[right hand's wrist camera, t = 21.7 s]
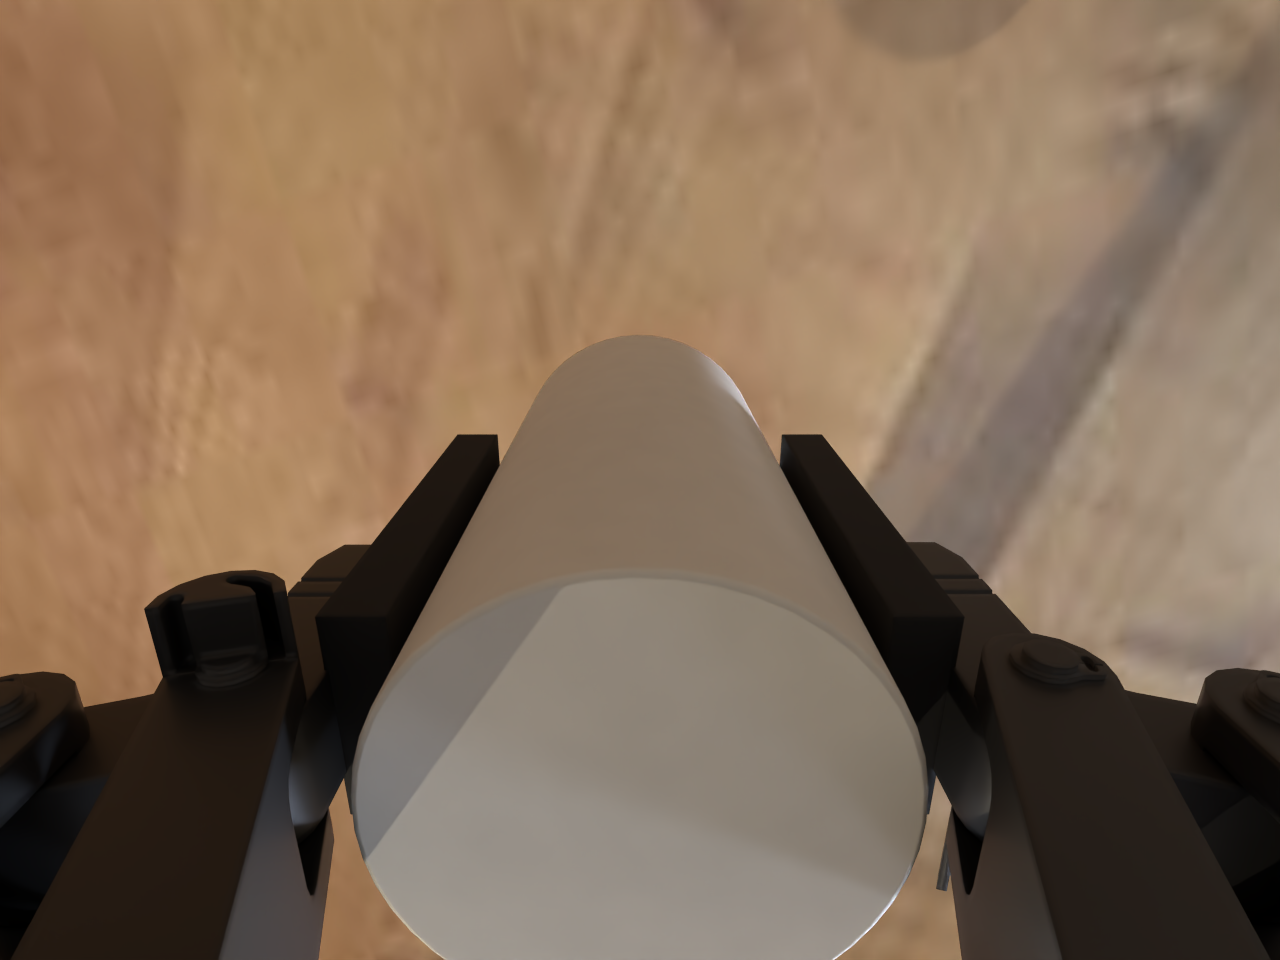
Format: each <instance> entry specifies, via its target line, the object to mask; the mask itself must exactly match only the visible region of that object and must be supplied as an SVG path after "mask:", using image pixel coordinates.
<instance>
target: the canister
mask: <svg viewBox="0 0 1280 960" xmlns="http://www.w3.org/2000/svg"><path fill="white" fill-rule="evenodd" d="M928 788H929V786H928V777H927V767H926V757H925V753H924V750H923V746H922V743H921V739H920V735H919V732H918V728H917V726H916V724H915V722H914V719H913V717H912V715H911V713H910V711H909V709H908V707H907V705H906V702H905V700H904V698H903V696H902V694H901V693H900V691H899V689H898V687H897V685H896V683H895V681H894V679H893V678H892V676H891V674H890V672H889V670H888V668H887V666H886V664H885V663H884V661H883V659H882V657H881V655H880V653H879V651H878V649H877V648H876V646H875V644H874V642H873V640H872V638H871V636H870V634H869V633H868V631H867V629H866V627H865V625H864V623H863V621H862V619H861V618H860V616H859V614H858V612H857V610H856V608H855V606H854V604H853V603H852V601H851V599H850V597H849V595H848V593H847V591H846V589H845V588H844V586H843V584H842V582H841V580H840V578H839V576H838V574H837V573H836V571H835V569H834V567H833V565H832V563H831V561H830V559H829V558H828V556H827V554H826V552H825V550H824V548H823V546H822V544H821V543H820V541H819V539H818V537H817V535H816V533H815V531H814V529H813V528H812V526H811V524H810V522H809V520H808V518H807V516H806V514H805V513H804V511H803V509H802V507H801V505H800V503H799V501H798V499H797V498H796V496H795V494H794V492H793V490H792V488H791V486H790V484H789V483H788V481H787V479H786V477H785V475H784V473H783V471H782V469H781V468H780V466H779V464H778V462H777V460H776V458H775V456H774V454H773V453H772V451H771V449H770V447H769V445H768V443H767V441H766V439H765V438H764V436H763V434H762V432H761V430H760V428H759V426H758V424H757V423H756V421H755V419H754V417H753V415H752V413H751V411H750V409H749V408H748V406H747V404H746V402H745V400H744V398H743V396H742V394H741V393H740V391H739V389H738V388H737V386H736V385H735V383H734V382H733V380H732V379H731V378H730V377H729V376H728V375H727V373H726V372H725V371H724V370H723V369H722V368H721V367H720V366H719V365H718V364H716V363H715V362H714V361H713V360H712V359H711V358H709V357H708V356H706V355H704V354H703V353H701V352H700V351H698V350H697V349H694V348H692V347H690V346H688V345H686V344H684V343H681V342H678V341H675V340H672V339H668V338H663V337H657V336H648V335H631V336H621V337H616V338H612V339H607V340H604V341H601V342H598V343H596V344H593V345H591V346H589V347H587V348H585V349H583V350H581V351H579V352H577V353H576V354H574V355H573V356H572V357H570V358H569V359H567V360H566V361H565V362H564V363H563V364H562V365H560V366H559V367H558V368H557V369H556V370H555V371H554V372H553V373H552V375H551V376H550V377H549V378H548V380H547V381H546V382H545V383H544V385H543V387H542V388H541V390H540V391H539V393H538V395H537V396H536V398H535V400H534V402H533V404H532V406H531V408H530V410H529V412H528V413H527V415H526V417H525V419H524V421H523V423H522V425H521V427H520V428H519V430H518V432H517V434H516V436H515V438H514V440H513V442H512V443H511V445H510V447H509V449H508V451H507V453H506V455H505V457H504V458H503V460H502V462H501V464H500V466H499V468H498V470H497V472H496V473H495V475H494V477H493V479H492V481H491V483H490V485H489V487H488V488H487V490H486V492H485V494H484V496H483V498H482V500H481V502H480V504H479V505H478V507H477V509H476V511H475V513H474V515H473V517H472V519H471V520H470V522H469V524H468V526H467V528H466V530H465V532H464V534H463V535H462V537H461V539H460V541H459V543H458V545H457V547H456V549H455V550H454V552H453V554H452V556H451V558H450V560H449V562H448V564H447V565H446V567H445V569H444V571H443V573H442V575H441V577H440V579H439V581H438V582H437V584H436V586H435V588H434V590H433V592H432V594H431V596H430V597H429V599H428V601H427V603H426V605H425V607H424V609H423V611H422V612H421V614H420V616H419V618H418V620H417V622H416V624H415V626H414V627H413V629H412V631H411V633H410V635H409V637H408V639H407V641H406V642H405V644H404V646H403V648H402V650H401V652H400V654H399V656H398V657H397V659H396V661H395V663H394V665H393V667H392V669H391V671H390V673H389V674H388V676H387V678H386V680H385V682H384V684H383V686H382V688H381V689H380V691H379V693H378V695H377V697H376V699H375V701H374V703H373V704H372V706H371V709H370V711H369V713H368V716H367V718H366V721H365V723H364V726H363V728H362V730H361V733H360V735H359V739H358V743H357V748H356V752H355V757H354V761H353V765H352V782H351V804H352V813H353V821H354V829H355V833H356V837H357V840H358V844H359V847H360V850H361V854H362V857H363V860H364V862H365V864H366V866H367V868H368V870H369V872H370V875H371V877H372V879H373V881H374V883H375V885H376V887H377V888H378V890H379V891H380V893H381V894H382V896H383V897H384V899H385V900H386V902H387V903H388V905H389V906H390V908H391V909H392V910H393V912H394V913H395V914H396V915H397V916H398V917H399V918H400V919H401V921H402V922H403V923H404V924H405V925H406V926H407V927H408V929H409V930H410V931H411V932H412V933H413V934H414V935H415V936H417V937H418V938H419V939H420V940H421V941H422V942H423V943H425V944H426V945H427V946H428V947H429V948H430V949H431V950H432V951H434V952H435V953H436V954H438V955H439V956H441V957H442V958H443V959H445V960H834V959H836V958H837V957H838V956H840V955H841V954H842V953H844V952H845V951H846V950H848V949H849V948H850V947H852V946H853V945H854V944H855V943H856V942H857V941H858V940H859V939H860V938H861V937H862V936H863V935H864V934H865V933H866V932H868V931H869V930H870V929H871V928H872V927H873V926H874V925H875V924H876V922H877V921H878V920H879V919H880V917H881V916H882V915H883V914H884V912H885V911H886V910H887V909H888V907H889V906H890V905H891V904H892V903H893V901H894V899H895V898H896V896H897V894H898V893H899V891H900V890H901V888H902V886H903V885H904V883H905V881H906V880H907V878H908V876H909V874H910V871H911V869H912V866H913V864H914V862H915V859H916V857H917V854H918V852H919V849H920V845H921V841H922V837H923V833H924V829H925V824H926V817H927V803H928Z"/></svg>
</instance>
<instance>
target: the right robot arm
mask: <svg viewBox="0 0 1280 960" xmlns="http://www.w3.org/2000/svg"><path fill="white" fill-rule="evenodd" d="M499 466H500V463H499V449H498V435H457V436H456V437H455V439H454V440H453V441H452V443H451V444H450V445H449V446H448V448H447V449H446V450H445V451H444V453H443V454H442V455H441V457H440V458H439V459H438V460H437V462H436V463H435V464H434V465H433V467H432V468H431V469H430V471H429V472H428V473H427V474H426V476H425V477H424V478H423V479H422V481H421V482H420V483H419V485H418V486H417V487H416V488H415V490H414V491H413V492H412V494H411V495H410V496H409V497H408V499H407V500H406V501H405V502H404V504H403V505H402V506H401V508H400V509H399V510H398V511H397V513H396V514H395V515H394V516H393V518H392V519H391V520H390V522H389V523H388V524H387V525H386V527H385V528H384V529H383V530H382V532H381V533H380V534H379V536H378V537H377V538H376V539H375V541H374V542H373V543H372V544H371V545H343V546H342V547H340V548H338V549H336V550H335V551H333V552H331V553H329V554H327V555H326V556H324V557H322V558H320V559H319V560H317V561H316V562H315V563H314V565H313V566H312V567H311V568H310V569H309V570H308V571H307V572H306V573H305V575H304V576H303V577H302V578H301V582H297V583H296V585H295V586H294V587H293V588H292V589H291V590H290V591H289V592H288V596H287V591H286V586H285V581H284V580H283V579H281V578H280V577H278V576H277V575H275V574H274V573H268V572H263V571H257V570H244V571H228V572H223V573H218V574H213V575H207V576H203V577H200V578H197V579H194V580H191V581H189V582H186V583H183V584H180V585H178V586H176V587H174V588H172V589H170V590H168V591H166V592H165V593H163V594H161V595H159V596H157V597H156V598H155V599H154V600H153V601H152V602H151V603H150V604H149V605H148V606H147V607H146V608H145V609H144V610H145V614H146V617H147V621H148V625H149V628H150V632H151V635H152V639H153V643H154V646H155V650H156V654H157V657H158V661H159V664H160V668H161V672H162V675H163V678H162V680H161V682H160V684H159V686H158V687H157V689H156V691H155V693H154V694H151V695H146V696H142V697H137V698H131V699H126V700H120V701H115V702H110V703H104V704H99V705H94V706H88V707H83V704H82V701H81V698H80V695H79V692H78V689H77V686H76V683H75V681H73V680H72V679H70V678H69V677H67V676H66V675H65V674H60V673H51V672H36V673H27V674H13V675H8V676H3V677H0V960H318V958H319V950H320V943H321V935H322V928H323V920H324V913H325V905H326V898H327V890H328V883H329V875H330V868H331V860H332V853H333V845H334V835H333V828H332V823H331V817H330V812H329V806H330V804H331V802H332V800H333V798H334V796H335V794H336V792H337V790H338V788H339V786H340V784H341V782H342V780H343V778H344V781H345V786H346V792H347V797H348V803H349V808H350V814H353V813H352V804H351V782H352V765H353V761H354V757H355V752H356V748H357V743H358V739H359V735H360V733H361V730H362V728H363V726H364V723H365V721H366V718H367V716H368V713H369V711H370V709H371V706H372V704H373V703H374V701H375V699H376V697H377V695H378V693H379V691H380V689H381V688H382V686H383V684H384V682H385V680H386V678H387V676H388V674H389V673H390V671H391V669H392V667H393V665H394V663H395V661H396V659H397V657H398V656H399V654H400V652H401V650H402V648H403V646H404V644H405V642H406V641H407V639H408V637H409V635H410V633H411V631H412V629H413V627H414V626H415V624H416V622H417V620H418V618H419V616H420V614H421V612H422V611H423V609H424V607H425V605H426V603H427V601H428V599H429V597H430V596H431V594H432V592H433V590H434V588H435V586H436V584H437V582H438V581H439V579H440V577H441V575H442V573H443V571H444V569H445V567H446V565H447V564H448V562H449V560H450V558H451V556H452V554H453V552H454V550H455V549H456V547H457V545H458V543H459V541H460V539H461V537H462V535H463V534H464V532H465V530H466V528H467V526H468V524H469V522H470V520H471V519H472V517H473V515H474V513H475V511H476V509H477V507H478V505H479V504H480V502H481V500H482V498H483V496H484V494H485V492H486V490H487V488H488V487H489V485H490V483H491V481H492V479H493V477H494V475H495V473H496V472H497V470H498V468H499ZM780 468H781V469H782V471H783V473H784V475H785V477H786V479H787V481H788V483H789V484H790V486H791V488H792V490H793V492H794V494H795V496H796V498H797V499H798V501H799V503H800V505H801V507H802V509H803V511H804V513H805V514H806V516H807V518H808V520H809V522H810V524H811V526H812V528H813V529H814V531H815V533H816V535H817V537H818V539H819V541H820V543H821V544H822V546H823V548H824V550H825V552H826V554H827V556H828V558H829V559H830V561H831V563H832V565H833V567H834V569H835V571H836V573H837V574H838V576H839V578H840V580H841V582H842V584H843V586H844V588H845V589H846V591H847V593H848V595H849V597H850V599H851V601H852V603H853V604H854V606H855V608H856V610H857V612H858V614H859V616H860V618H861V619H862V621H863V623H864V625H865V627H866V629H867V631H868V633H869V634H870V636H871V638H872V640H873V642H874V644H875V646H876V648H877V649H878V651H879V653H880V655H881V657H882V659H883V661H884V663H885V664H886V666H887V668H888V670H889V672H890V674H891V676H892V678H893V679H894V681H895V683H896V685H897V687H898V689H899V691H900V693H901V694H902V696H903V698H904V700H905V702H906V705H907V707H908V709H909V711H910V713H911V715H912V717H913V719H914V722H915V724H916V726H917V728H918V732H919V735H920V739H921V743H922V746H923V750H924V753H925V757H926V767H927V777H928V786H929V788H928V803H927V814H929V811H930V805H931V800H932V794H933V789H934V783H935V778H936V776H937V778H938V779H939V781H940V783H941V785H942V787H943V789H944V791H945V793H946V795H947V797H948V799H949V801H950V803H951V805H952V807H951V812H950V817H949V823H948V828H947V833H946V838H945V843H944V848H943V853H942V858H941V864H940V869H939V874H938V881H937V887H936V889H939V890H943V891H947V886H948V881H949V876H950V875H951V881H952V888H953V896H954V903H955V911H956V918H957V926H958V933H959V941H960V948H961V956H962V960H1280V673H1276V672H1271V671H1266V670H1262V671H1258V670H1250V669H1241V668H1234V669H1225V670H1217V671H1215V672H1214V673H1212V674H1211V675H1209V676H1208V677H1206V678H1205V681H1204V684H1203V687H1202V690H1201V693H1200V696H1199V699H1198V702H1197V704H1194V703H1189V702H1183V701H1178V700H1172V699H1167V698H1162V697H1156V696H1151V695H1145V694H1140V693H1135V692H1131V691H1127V690H1124V688H1123V686H1122V684H1121V682H1120V681H1119V679H1118V677H1117V676H1116V674H1115V673H1114V672H1113V671H1112V670H1111V669H1110V668H1109V666H1108V665H1107V664H1106V663H1105V662H1104V661H1102V660H1101V659H1099V658H1098V657H1096V656H1094V655H1093V654H1091V653H1090V652H1088V651H1087V650H1085V649H1083V648H1080V647H1078V646H1075V645H1073V644H1070V643H1068V642H1066V641H1063V640H1061V639H1056V638H1052V637H1047V636H1043V635H1039V634H1031V633H1030V631H1029V630H1028V629H1027V628H1026V627H1025V626H1024V625H1023V624H1022V623H1021V622H1020V620H1019V619H1018V618H1017V617H1016V616H1015V615H1014V614H1013V613H1012V612H1011V611H1010V609H1009V608H1008V607H1007V606H1006V605H1005V604H1004V603H1003V602H1002V601H1001V599H1000V598H999V597H998V596H997V595H996V594H992V590H991V588H990V587H989V586H988V585H987V584H986V583H985V582H984V581H983V580H982V579H979V575H978V574H977V573H976V572H975V571H974V570H973V569H972V568H971V566H970V565H969V564H968V563H967V562H966V561H965V560H964V559H963V558H962V557H960V556H959V555H957V554H955V553H953V552H952V551H950V550H948V549H946V548H944V547H943V546H941V545H939V544H937V543H935V542H906V541H905V540H904V539H903V537H902V536H901V535H900V534H899V532H898V531H897V530H896V529H895V527H894V526H893V525H892V523H891V522H890V521H889V520H888V518H887V517H886V516H885V515H884V513H883V512H882V511H881V509H880V508H879V507H878V506H877V504H876V503H875V502H874V501H873V499H872V498H871V497H870V495H869V494H868V493H867V492H866V490H865V489H864V488H863V486H862V485H861V484H860V483H859V481H858V480H857V479H856V478H855V476H854V475H853V474H852V472H851V471H850V470H849V469H848V467H847V466H846V465H845V464H844V462H843V461H842V460H841V458H840V457H839V456H838V455H837V453H836V452H835V451H834V450H833V448H832V447H831V446H830V444H829V443H828V442H827V441H826V439H825V438H824V437H823V435H782V442H781V456H780Z"/></svg>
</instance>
